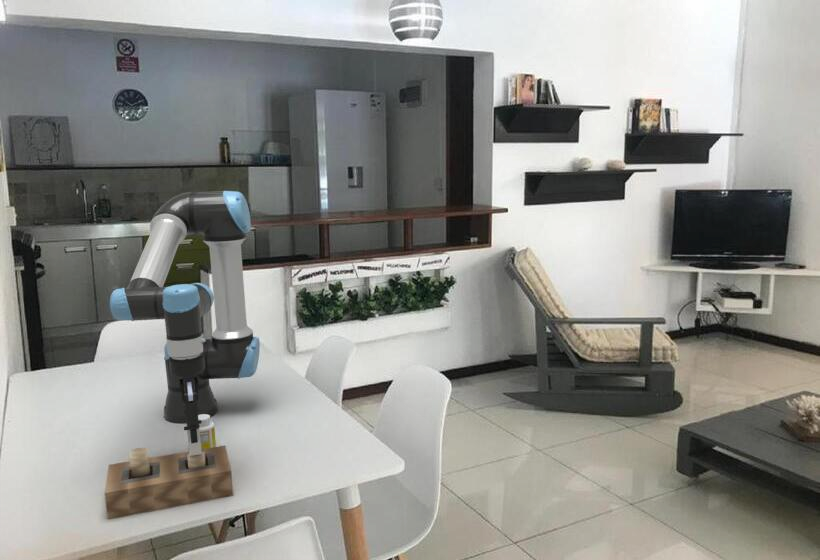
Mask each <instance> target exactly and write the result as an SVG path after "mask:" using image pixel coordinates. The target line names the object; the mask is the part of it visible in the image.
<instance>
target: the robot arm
mask: <svg viewBox="0 0 820 560" xmlns="http://www.w3.org/2000/svg"><path fill="white" fill-rule="evenodd" d="M161 205H162V206H160V208H158V209H157V211H156V212H155V213H154V215H153V217H152V219H151V221H150V222H149V223H150V224H149V230H150V234H149V237H148V238H147V241H146V243H145V246H144V248H143V250H142V253H141V255H140V257H139V259H138V262H137V264H136V267H135V270H134V271H133V274H132V277H131V279H130V281H129V282H128V285H127V286H126V288H125V287H122V288H116V289H115V290H113V291H112V293H111V295H110V298H109V299H110V300H109V308H110V313H111V315H112V316H113V318H114V319H115V320H117V321H128V322H129V321H131V322H134V321H135V322H137V321H154V320H164V324H165V331H166V338H165V339H166V343H165V344H164V347H163V348H164V357H163V358H164V359H163V360H164V363H165V373H166V381H167V382H166V383H167V394H166V397H165V398H166V399H165V405H164V406H163V407H164V408H163V415H164V416H163V417H164V419H165V420H166V421H168V422H172V423H175V424H176V423H177V424H186V426H183V430H184V431H186V434H187V436H186V437H187V444H188V446H187V447H188V452H189V456H193V455H199V454H202V451H201V440H200V429H199V427H200V425H199V424H201V423H202V422H201V420H198V415H201V414H207V415H210V418H211V417H213V416H214V415H216V414H217V412H218V410H219V408H218V402H217V399H216V398H215V395H214V393H213V390H212V388H211V384H210V380H217V379H218V380H219V379H221V380H222V379H238V380H239V379H242V378H243V379H244V378H250V377H253V376H254V375H255V374H256V373H257V369H258V364H259V358H260V347H261V346H260V338H259V337H258V336H254V331H253V329H252V328H251V327H249V326H248V322H247V309H246V296H245V295H246V294H245V284H244V272H243V271H244V270H243V268H244V267H243V258H242V257H243V256H242V244H243V242H245V240H246V239H247V238H246V235H247V234H248V233H249V232H251V228H252V224H251V222H252V221H251V213H250V209H249V206H248V205H249V204H248V202H247V200H246V198H245V195H244V194H243V193H242V192H240V191H234V190H220V191H219V190H217V191H200V192H199V191H198V192H196V191H189V192H188V191H187V192H183V193H180V194H177V195H176V196H174V197H172V198H170V199H169V200H168V201H166V202H165V203H163V204H161ZM189 235H202V241H203V243H205V244H206V245H207V246H208V248H209V258H210V260H209V261H210V269H211V270H210V271H211V280H212V289H211V288H210V286H208V285H207V284H204V283H201V282H193V283H190V284H189V283H183V284H182V283H181V284H174V285H170V286H164V284H165V283H166V279H167V277H168V274H169V272H170V269H171V266H172V264H173V260H174V258H175V255H176V252H177V250H178V247H179V244H180V243H181V242H182V241H184V240H185V239H186V236H189ZM213 303H214V304H213ZM213 305H214V316H215V327H216V328H215V330H214V331H212V333H211V338H207V336H206V335H205V333H203V329H202V318H203V317H204V316H205V315H206V314H208V313H209V311H211V308H212V306H213Z"/></svg>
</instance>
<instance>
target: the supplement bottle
mask: <svg viewBox="0 0 820 560" xmlns="http://www.w3.org/2000/svg"><path fill="white" fill-rule="evenodd" d="M198 420H201V422H202V423H201V424H199V425H200V427H199V429H200V440H201V449H207V448H213V447H217V440H216V431H215V430H216V429H215V424H214V422H213V421H212V419H211V417H210V415H207V414H201V415H198Z"/></svg>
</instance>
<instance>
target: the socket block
mask: <svg viewBox="0 0 820 560" xmlns="http://www.w3.org/2000/svg"><path fill="white" fill-rule="evenodd" d="M201 451H203V452H204V453H205V463H206V466H203V467H197V468H191V469H188V458H187V455H188V454H189V451H184V452H179V453H171V454H166V455H159V456H154V457H153V456H152V457H148V458H149V467H150V476H145V477H139V478H134V479H132V472H131V463H130V460H129V461H123V462H116V463H111V464H108V467H107V468H108V470H107V476H106V481H105V490H104V499H105V508H106V517H107V520H111V519H115V518H121V517H125V516H131V515H136V514H137V515H138V514H141V513H142V514H143V513H147V512H152V511H158V510H163V509H168V508H174V507H179V506H184V505H188V504H189V505H190V504H194V503H195V504H196V503H199V502H200V503H201V502H206V501H210V500H215V499H216V500H217V499H220V498H226V497H230V496H231V497H232V496H234V491H233V479H232V469H231V463H230V461H229V456H228V451H227V447H226V445H219V446H216V447H213V448H207V449H201Z"/></svg>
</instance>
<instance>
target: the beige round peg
mask: <svg viewBox="0 0 820 560" xmlns="http://www.w3.org/2000/svg"><path fill="white" fill-rule="evenodd" d="M128 454H129V455H128V456H129V461H130V463H131V472H132V479H134V478H139V477H145V476H150V467H149V458H150V457H149V450H148V448H146V447H139V448H134V449H132V450H131V451H130V452H129V453H128Z"/></svg>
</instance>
